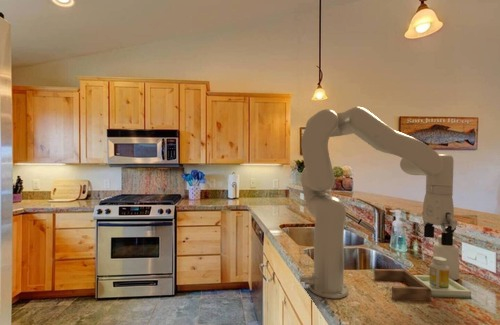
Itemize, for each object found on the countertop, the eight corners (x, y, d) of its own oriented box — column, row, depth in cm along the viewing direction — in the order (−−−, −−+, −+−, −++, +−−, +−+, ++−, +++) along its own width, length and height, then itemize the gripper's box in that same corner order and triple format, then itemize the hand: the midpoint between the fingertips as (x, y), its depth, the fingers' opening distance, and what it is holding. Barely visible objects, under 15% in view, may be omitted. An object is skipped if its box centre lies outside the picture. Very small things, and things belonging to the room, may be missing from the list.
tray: (431, 296, 87) (431, 290, 87) (411, 280, 99) (411, 275, 99) (471, 297, 86) (471, 291, 86) (446, 281, 98) (446, 276, 98)
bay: (393, 299, 85) (393, 287, 85) (374, 278, 100) (374, 269, 100) (430, 300, 84) (430, 289, 84) (405, 279, 99) (405, 269, 99)
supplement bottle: (427, 286, 92) (428, 258, 92) (431, 281, 96) (431, 254, 96) (447, 291, 88) (447, 262, 88) (450, 286, 92) (450, 258, 92)
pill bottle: (463, 282, 97) (462, 240, 98) (437, 278, 100) (436, 238, 100) (454, 273, 105) (454, 234, 105) (430, 271, 108) (430, 233, 108)
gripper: (413, 188, 101) (412, 234, 101) (443, 192, 84) (442, 248, 84) (434, 189, 101) (433, 235, 101) (469, 193, 84) (467, 249, 83)
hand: (437, 241), depth 92 cm, fingers open, 9 cm apart
